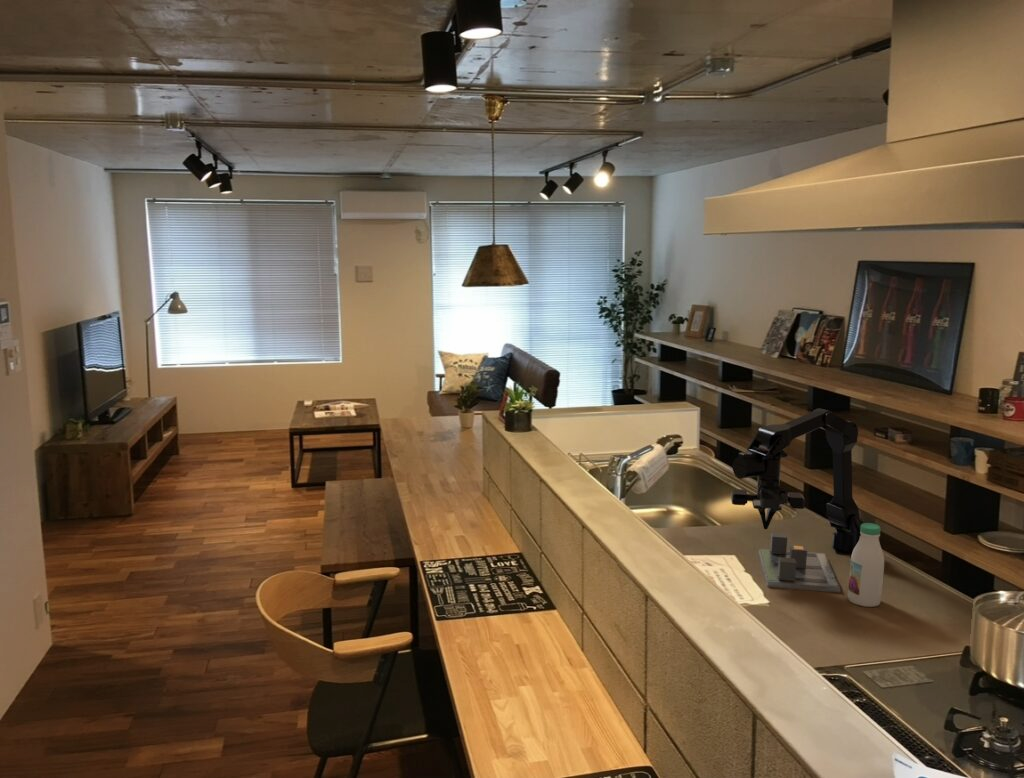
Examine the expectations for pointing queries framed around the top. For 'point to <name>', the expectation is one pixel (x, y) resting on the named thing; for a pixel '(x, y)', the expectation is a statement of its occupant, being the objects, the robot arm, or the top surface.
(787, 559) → the block
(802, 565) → the breaker mid
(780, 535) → the block
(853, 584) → the milk bottle
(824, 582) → the panel
